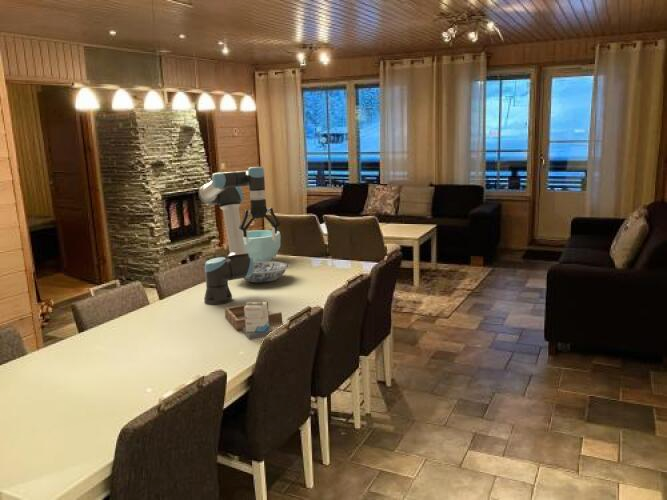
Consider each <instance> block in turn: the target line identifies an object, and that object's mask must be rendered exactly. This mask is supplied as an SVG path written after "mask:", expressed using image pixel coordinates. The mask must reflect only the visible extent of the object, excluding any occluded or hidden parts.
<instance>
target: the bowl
mask: <svg viewBox="0 0 667 500" xmlns="http://www.w3.org/2000/svg"><path fill="white" fill-rule="evenodd" d="M242 234H243V231H242ZM248 237H249V244H247V243H246V237H244V236H243V240H244V246H245V251H246V252H248V254H249V256H251V257H252V258H253V262H260V261H273V258H275V257H277V255H278V253H279V252H278V251H279V249H280V248H281V238H282V236H281V232H280V231H279V230H277V234H275V238H276V241H273V240H272V229H271V230H269V229H268V230H267V229H257V230H256V229H255V230H248Z"/></svg>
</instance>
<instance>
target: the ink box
mask: <svg viewBox="0 0 667 500" xmlns="http://www.w3.org/2000/svg"><path fill="white" fill-rule="evenodd" d="M267 302H268V301H267ZM267 302H266V301H246V302H245V303H246V304H245V305H246V306H245V307H244V313H245V316H244V319H245V323H246V332H264V331H265V330H266V329H267V328H268V326H269V319H268V314H269V307H268V308H267Z"/></svg>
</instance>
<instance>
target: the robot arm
mask: <svg viewBox="0 0 667 500" xmlns="http://www.w3.org/2000/svg"><path fill="white" fill-rule="evenodd" d="M265 180H266V179H265V170H264V167H262V166H251V167H248V169H244V170H236V171H223V172H221V171H220V172H219V171H218V172H213V173H212V175H211V180H210V182H209V181H208V183H205V184H203V185H202V186H200V188H199V190H198V197H199V199H200V200H201V201H202V202H203V203H204V204H206V205H208V206H209V205H211V206H217V205H219V209H220V210H222V211H223V217H224V225H225V230H226V238H227V243H228V244H227V245H228V250H229V253H228V255H227V258H226V257H224V256H219V257H214V258H210V259H209V260H207V261H205V262H204V263H205V264H204V274H205V275H204V276H205V284H206V287H205V288H206V289H205V294H204V298H203V300H204V301H203V302H204V303H205V304H207V305H222V304H226V303H230V302H232V300H233V295H232V292H231V290H230V287H229V283H228V281H235V280H241V279H243V278H247V277H250V276H251V275H252V274H253V270H254V262H253V258H252V257H251V256H249V254H248V252H246V251H245V246H244V240H243V236H244V237H246V243H247V244H249V237H248V231H249V230H248V229H249V227H250V225H251V224H252V222H254V220H255V219H263V218H264V219H265V220H267V221H268V223H269V224H270V225H271V226H272V227H271V230H272V240H273V241H276V238H275V234H277V231H278V230H277V229H278V227H280V226H281V223H280V221H279V219H278V218H277V216H276V214H275V213H274V208H273V207H269V208H268V207H267V200H266V186H265V185H266V184H265V183H266V181H265ZM242 187H249V198H250V200H249V201H250V209H245V210H244V213H243V217H242V219H241V217H240V210H239V209H240V207H241V205H242V202H243V200H244V193H243V190H242ZM267 213H269V214H270V216H271V217H272V219H273V220H272V219H271V218H270V217H269V215H267ZM250 214H251V215H250ZM249 215H250V217H249ZM248 217H249V219H248ZM247 219H248V221H247ZM242 232H243V234H242Z"/></svg>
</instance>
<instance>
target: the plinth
mask: <svg viewBox="0 0 667 500" xmlns="http://www.w3.org/2000/svg"><path fill="white" fill-rule="evenodd" d="M273 330H275V329H274V328H273V327H272V325H269V326H268V328H267V329H266V330H265V331H264V332H246V327H242V333H243V334H244V335H245V336H246V338H248V340H253V339H259V338H263V337H267V336H266V335H268V334H269V333H270V332H272V331H273Z"/></svg>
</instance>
